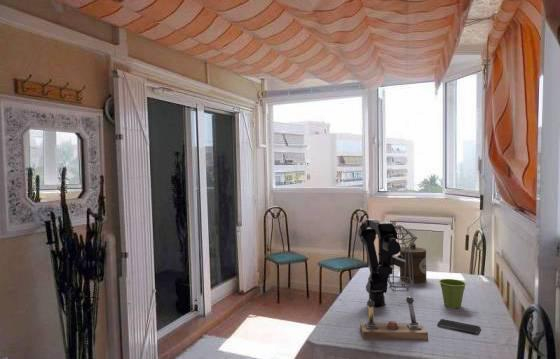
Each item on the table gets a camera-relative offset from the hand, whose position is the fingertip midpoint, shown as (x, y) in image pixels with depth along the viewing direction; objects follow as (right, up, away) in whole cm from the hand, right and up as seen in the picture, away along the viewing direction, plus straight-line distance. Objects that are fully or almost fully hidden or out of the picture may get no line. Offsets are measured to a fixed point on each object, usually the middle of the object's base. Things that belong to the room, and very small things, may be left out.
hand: (385, 285), depth 167 cm
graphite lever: (+5, -9, -21) cm, 24 cm away
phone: (+25, -13, -15) cm, 32 cm away
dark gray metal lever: (-11, -9, -20) cm, 25 cm away
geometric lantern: (+18, -13, +36) cm, 42 cm away
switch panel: (-3, -13, -21) cm, 25 cm away
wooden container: (+32, -12, +54) cm, 64 cm away
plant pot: (+34, -13, +9) cm, 38 cm away
